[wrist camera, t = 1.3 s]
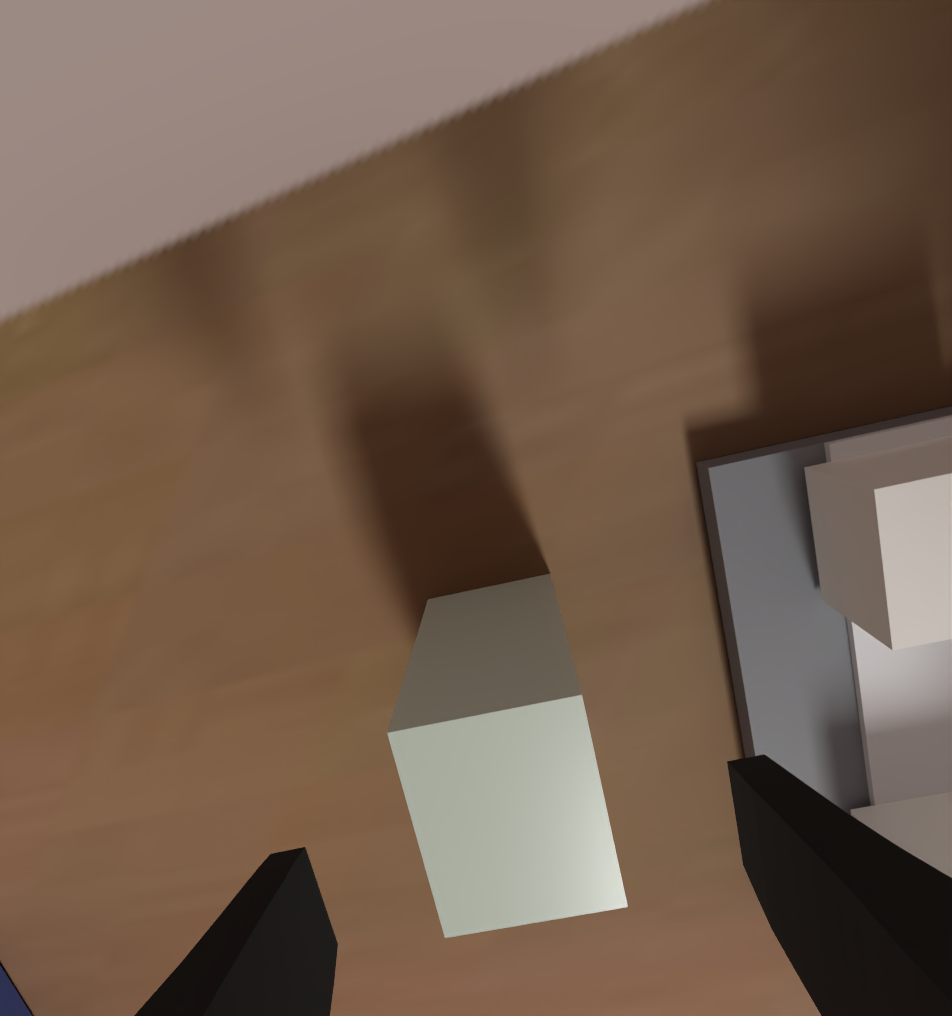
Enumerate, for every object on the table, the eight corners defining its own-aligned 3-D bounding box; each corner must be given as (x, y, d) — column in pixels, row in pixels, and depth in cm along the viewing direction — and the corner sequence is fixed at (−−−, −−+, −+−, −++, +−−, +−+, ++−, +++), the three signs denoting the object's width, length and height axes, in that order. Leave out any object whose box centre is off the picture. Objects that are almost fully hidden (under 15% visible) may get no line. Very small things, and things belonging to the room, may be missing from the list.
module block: (581, 715, 22) (627, 906, 14) (463, 737, 22) (445, 937, 14) (550, 573, 21) (581, 694, 13) (428, 599, 21) (387, 733, 13)
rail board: (1068, 856, 22) (1229, 993, 17) (769, 906, 23) (843, 1050, 18) (1039, 387, 19) (1223, 392, 14) (695, 462, 20) (760, 492, 15)
